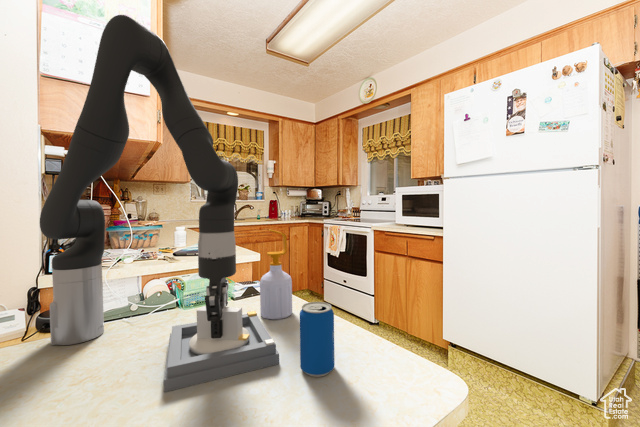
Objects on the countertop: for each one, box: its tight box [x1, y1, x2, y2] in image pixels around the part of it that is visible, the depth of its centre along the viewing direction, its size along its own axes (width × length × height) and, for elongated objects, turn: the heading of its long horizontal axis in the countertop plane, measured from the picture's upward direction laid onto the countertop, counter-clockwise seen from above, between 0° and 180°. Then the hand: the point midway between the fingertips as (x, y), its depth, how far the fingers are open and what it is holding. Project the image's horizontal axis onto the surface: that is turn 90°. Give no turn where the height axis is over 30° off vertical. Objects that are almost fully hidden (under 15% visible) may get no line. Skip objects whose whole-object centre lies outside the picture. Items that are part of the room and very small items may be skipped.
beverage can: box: [299, 301, 335, 378], centre depth 55 cm, size 6×6×12 cm
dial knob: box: [189, 305, 250, 355], centre depth 62 cm, size 12×12×7 cm
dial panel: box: [163, 310, 280, 393], centre depth 62 cm, size 20×20×4 cm
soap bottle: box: [259, 228, 293, 320], centre depth 83 cm, size 9×9×25 cm
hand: (218, 333), depth 62 cm, fingers closed on dial knob, 3 cm apart
